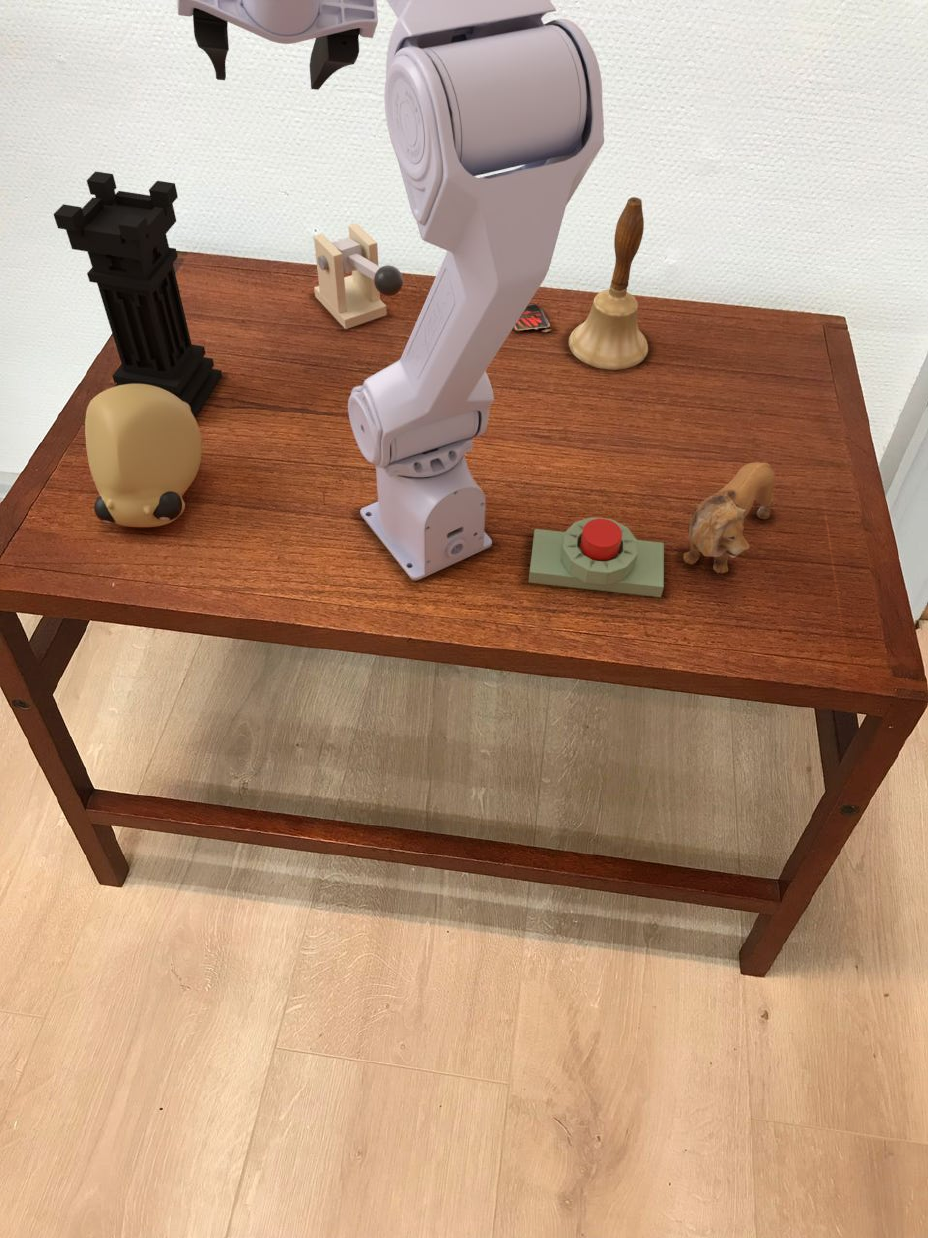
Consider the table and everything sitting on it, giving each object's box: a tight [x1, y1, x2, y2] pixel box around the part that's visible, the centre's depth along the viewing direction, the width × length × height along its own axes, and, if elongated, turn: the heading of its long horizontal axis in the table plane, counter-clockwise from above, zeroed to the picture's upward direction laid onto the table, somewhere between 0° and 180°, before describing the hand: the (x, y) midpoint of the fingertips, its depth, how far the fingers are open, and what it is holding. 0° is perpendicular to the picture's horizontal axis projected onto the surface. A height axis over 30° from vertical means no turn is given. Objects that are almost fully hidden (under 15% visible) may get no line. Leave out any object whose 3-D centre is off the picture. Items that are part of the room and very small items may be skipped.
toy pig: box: [84, 384, 203, 528], centre depth 83 cm, size 10×12×11 cm
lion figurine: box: [682, 461, 776, 574], centre depth 81 cm, size 15×5×9 cm, turn 151°
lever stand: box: [313, 222, 388, 330], centre depth 102 cm, size 7×6×8 cm
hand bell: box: [568, 196, 649, 371], centre depth 96 cm, size 8×8×16 cm
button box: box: [527, 516, 665, 598], centre depth 81 cm, size 11×6×3 cm, turn 83°
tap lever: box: [331, 237, 404, 297], centre depth 98 cm, size 12×3×3 cm, turn 33°
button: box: [580, 518, 622, 561], centre depth 80 cm, size 3×3×2 cm
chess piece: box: [53, 170, 223, 420], centre depth 88 cm, size 8×8×20 cm
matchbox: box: [514, 303, 553, 333], centre depth 104 cm, size 5×5×1 cm
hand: (267, 72), depth 80 cm, fingers open, 7 cm apart
